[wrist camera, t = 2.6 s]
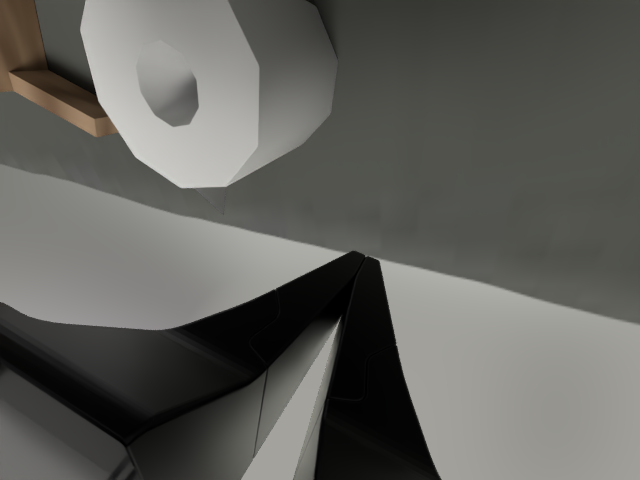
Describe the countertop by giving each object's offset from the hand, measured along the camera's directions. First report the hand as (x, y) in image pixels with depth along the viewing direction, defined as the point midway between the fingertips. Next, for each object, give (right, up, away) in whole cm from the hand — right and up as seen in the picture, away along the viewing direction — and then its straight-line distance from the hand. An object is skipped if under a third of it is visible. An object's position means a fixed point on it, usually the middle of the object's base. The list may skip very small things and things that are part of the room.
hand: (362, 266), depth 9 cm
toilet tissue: (-5, +11, +12) cm, 17 cm away
